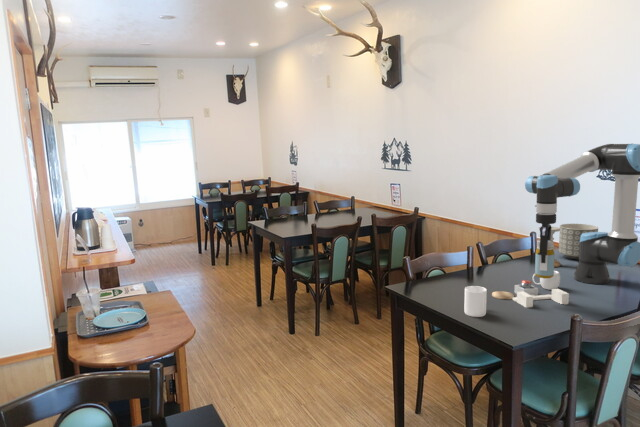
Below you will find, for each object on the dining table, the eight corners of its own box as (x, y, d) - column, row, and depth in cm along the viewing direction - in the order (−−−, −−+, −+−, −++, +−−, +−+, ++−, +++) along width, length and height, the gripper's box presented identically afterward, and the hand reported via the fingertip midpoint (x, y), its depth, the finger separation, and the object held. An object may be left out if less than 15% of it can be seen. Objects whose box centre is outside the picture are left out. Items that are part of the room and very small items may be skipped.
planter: (564, 261, 269) (566, 229, 266) (554, 253, 287) (555, 223, 285) (601, 262, 266) (604, 229, 263) (588, 254, 284) (590, 223, 282)
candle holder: (564, 267, 258) (566, 229, 255) (541, 267, 258) (542, 230, 255) (554, 261, 270) (555, 225, 267) (531, 262, 270) (533, 226, 267)
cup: (460, 314, 195) (461, 289, 193) (473, 306, 203) (474, 282, 202) (480, 318, 189) (481, 293, 188) (493, 310, 198) (493, 286, 196)
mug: (562, 287, 224) (563, 271, 223) (556, 292, 218) (557, 275, 217) (535, 283, 233) (536, 267, 231) (528, 287, 226) (529, 270, 225)
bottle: (548, 279, 198) (549, 243, 196) (531, 276, 204) (532, 241, 201) (556, 276, 203) (557, 240, 200) (540, 272, 208) (541, 238, 206)
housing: (541, 290, 221) (541, 280, 221) (568, 304, 203) (568, 293, 202) (501, 293, 218) (502, 283, 218) (525, 307, 200) (526, 297, 199)
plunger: (527, 289, 218) (528, 279, 218) (532, 292, 215) (533, 282, 214) (519, 290, 218) (519, 280, 217) (524, 292, 214) (524, 282, 213)
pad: (506, 292, 220) (507, 290, 220) (517, 298, 211) (518, 296, 211) (488, 293, 219) (488, 292, 218) (498, 300, 210) (498, 298, 210)
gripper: (539, 209, 209) (538, 261, 213) (532, 216, 193) (531, 273, 196) (558, 209, 205) (557, 262, 209) (553, 217, 189) (551, 275, 192)
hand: (544, 267), depth 203 cm, fingers closed on bottle, 7 cm apart
